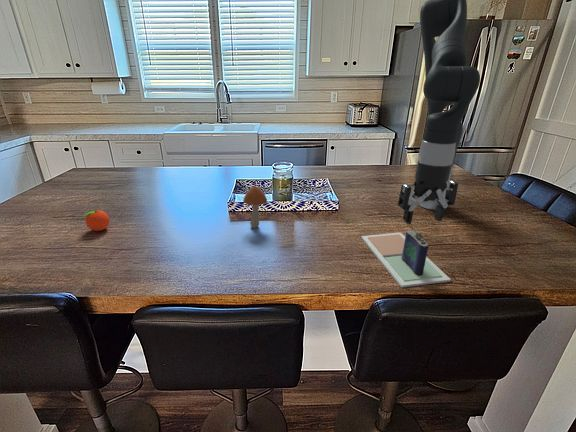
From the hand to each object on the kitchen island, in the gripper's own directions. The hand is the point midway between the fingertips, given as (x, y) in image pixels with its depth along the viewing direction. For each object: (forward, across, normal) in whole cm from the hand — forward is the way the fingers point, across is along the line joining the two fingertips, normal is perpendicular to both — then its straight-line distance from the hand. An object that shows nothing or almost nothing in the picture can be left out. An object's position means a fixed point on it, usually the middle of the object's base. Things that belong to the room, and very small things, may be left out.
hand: (422, 221), depth 82 cm
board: (+15, 0, -6) cm, 16 cm away
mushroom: (+15, +40, -33) cm, 54 cm away
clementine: (+14, +93, -40) cm, 103 cm away
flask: (+14, 0, 0) cm, 14 cm away
